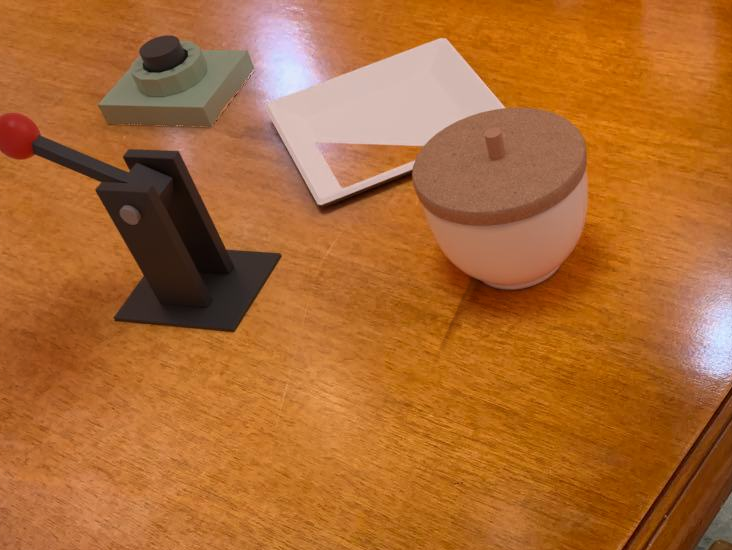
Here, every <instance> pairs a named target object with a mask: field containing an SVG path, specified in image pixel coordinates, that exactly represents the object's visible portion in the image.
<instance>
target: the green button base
mask: <svg viewBox="0 0 732 550" xmlns="http://www.w3.org/2000/svg"><path fill="white" fill-rule="evenodd" d="M179 41H180V43H181V45H182V48H183V50H184V52H185V54H186V57H187V59H186V60H185V61H184V62H183V63H182V64H180V65H179V66H177V67H175V68H173V69H172V70H168V71H164V72H161V73H149V72H148V71H147V68H146V66H145V64H144V62H143V60H142V58H141V56H140V54H139V55H138V56H137V57H136V59H134V61H133V62H131V65H130V67H129V68H128V69H127V71H126V72H125V73H124V74H123V75H122V76H121V77H120V78H119V79H118V81H117V82H116V83H115V84H114V86H113V87H112V88H111V89H110V90H109V91H108V92H107V93H106V94H105V96H104V97H103V98H102V99H101V100H100V102H98V104H97V107H98V108H99V110H100V112H101V115H102V116H103V118H104V119H105V122H106V123H107V125H108V124H126V125H125V126H128V125H127V124H130V125H129V126H138V125H140V124H141V125H163V126H162V127H171V126H176V125H178V126H179V125H181V126H182V125H183V126H204V127H205V126H206V127H207V126H208V127H212V125H213V124H214V123H215V121H216V119H217V118H218V117H219V115H220V113H221V111H222V110H223V108H224V107H225V106H226V104H227V103H228V102H229V101H230V99H231V98H232V97H233V96H234V95H235V94H236V92H237V91H238V90H239V89H240V88H241V86H242V84H243V83H244V82H245V80H246V79H247V78H248V76H249V74H250V73H251V72H252V70H253V69H255V65H254V63H253V61H252V58H251V56H250V53H249V51H248V49H201V47H200V46H199V45H197V44H196V43H194V42H192V41H190V40H179ZM132 124H133V125H132ZM134 124H135V125H134ZM137 124H138V125H137ZM215 124H216V123H215ZM215 124H214V125H215ZM164 125H165V126H164ZM166 125H167V126H166ZM204 127H203V128H204ZM212 128H213V127H212Z"/></svg>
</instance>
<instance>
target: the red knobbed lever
mask: <svg viewBox="0 0 732 550" xmlns="http://www.w3.org/2000/svg"><path fill="white" fill-rule="evenodd" d="M0 153H2V154H3V155H4V156H6V157H8V158H11V159H13V160H18V161H22V160H29V159H31V158H33V157H34V156H38V157H40V158H43V159H45V160H47V161H50V162H52V163H55V164H56V165H59V166H61V167H64V168H66V169H68V170H71V171H73V172H76V173H78V174H80V175H83V176H86V177H87V178H90V179H92V180H95V181H97V182H100V183H101V182H113V183H133V184H153V186H154V187H155V189H156V191H157V193H158V195H159V197H160V199H161V201H162V203H163V205H164V207H165V209H166V211H167V210H168V208H169V207H170V206H171V204H172V203H173V178H172V177H170V176H167V175H165V174H162V173H160V172H158V171H155V170H153V169H151V168H148V167H146V166H143V165H141V164H139V163H136V164H135V165H134V167H133V168H132V169H131V170H129V171H126V170H124V169H121V168H119V167H116V166H113V165H111V164H109V163H107V162H105V161H103V160H100V159H98V158H96V157H93V156H90V155H88V154H85V153H83V152H80V151H78V150H75V149H74V148H71V147H69V146H67V145H64V144H62V143H59V142H57V141H55V140H52V139H49V138H47V137H45V136H42V134H41V132H40V129H39V127H38V126H37V124H36V123H35V122H34V120H33V119H32V118H30V117H28V116H27V115H24V114H23V113H19V112H7V113H4V114H1V115H0Z"/></svg>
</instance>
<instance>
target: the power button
mask: <svg viewBox="0 0 732 550" xmlns="http://www.w3.org/2000/svg"><path fill="white" fill-rule="evenodd" d="M180 41H181V40H180V39H179V37H177V36H175V35H172V34H171V35H169V34H167V35H159V36H157V37H154V38H151V39H149V40H147V41H146V42H145V43H143V44H142V45H141V46H140V47H139V52H138V53H139V55H140V56H141V58H142V60H143V62H144V64H145V66H146V68H147V71H148V72H149V73H161V72H164V71H168V70H172V69H173V68H175V67H177V66H179V65H180V64H182V63H183V62H184V61H185V60H186V59H187V57H186V54H185V52H184V50H183V48H182V45H181V43H180Z"/></svg>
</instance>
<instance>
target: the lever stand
mask: <svg viewBox="0 0 732 550" xmlns="http://www.w3.org/2000/svg"><path fill="white" fill-rule="evenodd" d="M122 159H123V161H124V162H125V165H126V167H127V168H128V170H129V171H130V170H131V169H132V168H133V167H134V165H135V164H136V163H139V164H141V165H143V166H146V167H148V168H151V169H153V170H155V171H158V172H160V173H162V174H165V175H167V176H170V177H172V178H173V203H172V204H171V206H170V207H169V208H168V210H167V211H166V209H165V207H164V205H163V203H162V201H161V199H160V197H159V195H158V193H157V191H156V189H155V187H154V186H153V184H133V183H113V182H100V183H99V185H98V186H97V187H96V188H95V189H94V190H95V191H94V192H95V193H96V195H97V196H98V199H99V200H100V202H101V204H102V205H103V207H104V208H105V210H106V212H107V214H108V216H109V218H110V219H111V221H112V223H113V224H114V227H116V229H117V231H118V233H119V235H120V236H121V238H122V239H123V242H124V244H125V245H126V247H127V248H128V249H127V250H128V251H129V252H130V254H131V256H132V257H133V259H134V261H135V263H136V264H137V266H138V268H139V270H140V271H141V274H142V275H143V276H142V278H141V279H140V280H139V281H138V283H137V284H136V286H135V287H134V289H133V290H132V291H131V292H130V294H129V296H128V297H127V298H126V300H125V301H124V302H123V304H122V305H121V307H120V308H119V309H118V311H117V312H116V313H115V315H114V316H113V320H114V321H115V322H123V323H134V324H143V325H153V326H154V325H155V326H163V327H164V326H165V327H175V328H185V329H187V328H188V329H196V330H208V331H217V332H218V331H219V332H228V333H235V332H236V330H238V327H240V324H241V322H242V321H243V319H244V318H245V316H246V315H247V313H248V311H249V310H250V308H251V306H252V305H253V303H254V301H255V300H256V298H257V297H258V295H259V294H260V292H261V291H262V289H263V287H264V286H265V284H266V282H267V281H268V280H269V278H270V276H271V275H272V273H273V271H274V270H275V268H276V266H277V265H278V263H279V262H280V260H281V259H282V253H281V252H271V251H269V252H268V251H266V252H265V251H253V250H252V251H251V250H238V249H227V248H226V246H225V244H224V241H223V240H222V238H221V236H220V234H219V232H218V230H217V227H216V225H215V223H214V221H213V219H212V217H211V215H210V213H209V211H208V209H207V207H206V204H205V202H204V200H203V198H202V196H201V193H200V192H199V190H198V188H197V186H196V184H195V181H194V180H193V177H192V175H191V173H190V171H189V168H188V166H187V165H186V162H185V160H184V159H183V156H182V154H181V153H180V151H179V150H168V149H167V150H165V149H164V150H163V149H162V150H161V149H139V148H136V149H135V148H129V149H127V151H125V153H124V154H123V155H122Z"/></svg>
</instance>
